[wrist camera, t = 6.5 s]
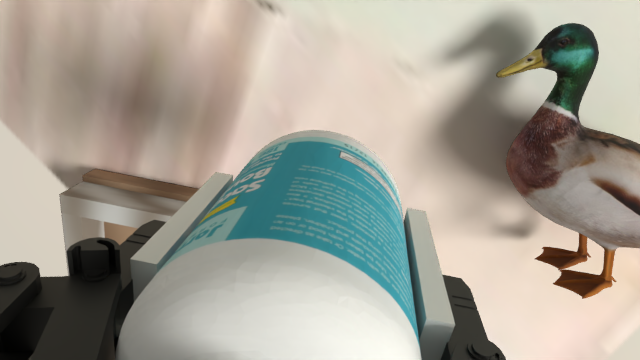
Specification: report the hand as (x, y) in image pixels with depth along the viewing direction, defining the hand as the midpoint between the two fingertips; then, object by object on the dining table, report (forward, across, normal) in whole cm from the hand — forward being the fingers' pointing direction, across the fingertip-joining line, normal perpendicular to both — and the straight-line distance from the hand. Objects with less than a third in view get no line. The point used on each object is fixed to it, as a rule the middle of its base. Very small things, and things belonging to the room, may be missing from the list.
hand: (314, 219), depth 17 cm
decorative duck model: (+13, +17, +3) cm, 21 cm away
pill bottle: (+2, 0, 0) cm, 2 cm away
